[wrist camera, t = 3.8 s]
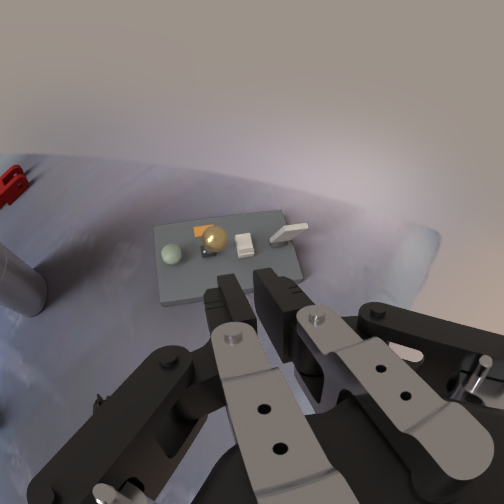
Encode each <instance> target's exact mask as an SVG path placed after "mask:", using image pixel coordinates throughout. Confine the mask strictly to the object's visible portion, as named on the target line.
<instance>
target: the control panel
mask: <svg viewBox="0 0 504 504" xmlns="http://www.w3.org/2000/svg"><path fill="white" fill-rule="evenodd" d="M286 225H287V224H286V221H285V218H284V215H283V212H282V210H273V211H264V212H255V213H247V214H238V215H230V216H222V217H215V218H207V219H200V220H192V221H185V222H178V223H171V224H165V225H158V226H153V231H154V246H155V258H156V269H157V279H158V288H159V296H160V303H161V304H162V306H163V307H168V306H175V305H181V304H188V303H194V302H201V301H204V299H203V295H204V293H205V291H206V290H207V289H210V288H217V287H218V284H217V276H219V275H226V274H232V273H234V274H235V276H236V278H237V280H238V282H239V284H240V286H241V288H242V290H243V292H244V294H248V293H253V292H254V287H253V270H256V269H262V268H268V267H271V268H272V269H273V271H274V272H275V273H276V274H277V276H278V277H281V276H285V277H287V278H289V279H292V280H293V281H294V282H295V283H296V284H299V283H300V282H301V280H302V279H303V275H302V272H301V269H300V265H299V262H298V259H297V256H296V252H295V249H294V246H293V243H292V240H289V241H288V245H286V246H279V247H272V248H271V247H270V245H269V236H273V235H274V234H275V233H276V232H277V231H278V230H280V229H281V228H282V227H283V226H286ZM210 226H220V227H222V228H223V229H224V230H225V231H226V233H227V235H228V243H227V245H226V247H225V248H224V249H223V250H221V251H219V252H217V256H212V257H205V258H202V256H201V249H200V246H202V245H203V244H202V234H203V232H204V231H205V229H207V228H208V227H210ZM245 233H250V236H251V240H252V245H253V248H254V255H253V256H250V257H244V258H238V253H237V247H236V242H235V236H236V235H238V234H245ZM168 244H176V245H178V246H179V247H180V249H181V253H182V259H181V261H180V262H179V263H178V264H176V265H173V266H171V265H167V264H166V263H165V262H164V261H163V258H162V255H161V252H162V249H163V248H164V247H165V246H166V245H168Z"/></svg>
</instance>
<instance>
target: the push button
mask: <svg viewBox="0 0 504 504" xmlns="http://www.w3.org/2000/svg"><path fill="white" fill-rule="evenodd" d="M161 255H162V258H163V261H164V262H165V263H166V264H167V265H171V266H173V265H176V264H178V263H179V262H180V261H181V259H182V253H181V249H180V247H179V246H178V245H176V244H168V245H166V246H165V247H164V248H163V249H162V252H161Z"/></svg>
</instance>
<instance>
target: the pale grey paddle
mask: <svg viewBox="0 0 504 504" xmlns="http://www.w3.org/2000/svg"><path fill="white" fill-rule="evenodd" d="M306 229H308V225H307V223H302V224H294V225H286V226H283V227H282V228H281V229H280V230H278V231H277V232H276V233H275V234H274V235H273V236H269V245H270V247H271V248H272V247H279V246H286V245H288V241H289V240H292V239H293V238H295V237H296V236H298V235H299V234H301V233H302V232H303V231H305V230H306Z"/></svg>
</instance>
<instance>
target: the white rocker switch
mask: <svg viewBox="0 0 504 504" xmlns="http://www.w3.org/2000/svg"><path fill="white" fill-rule="evenodd" d="M235 242H236V247H237V253H238V258H244V257H250V256H253V255H254V248H253V245H252V240H251V236H250V233H245V234H238V235H236V236H235Z"/></svg>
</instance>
